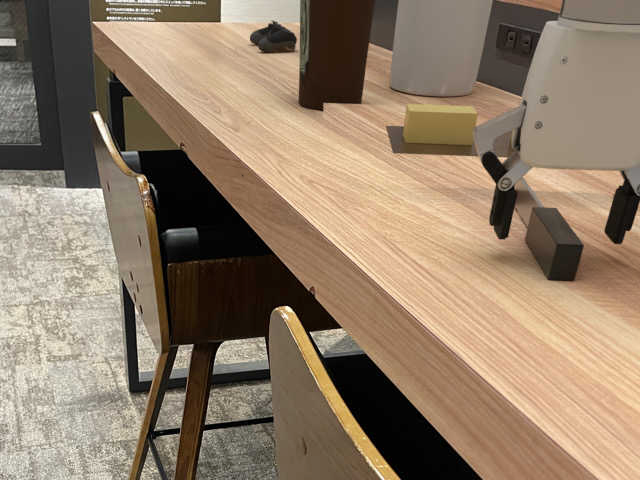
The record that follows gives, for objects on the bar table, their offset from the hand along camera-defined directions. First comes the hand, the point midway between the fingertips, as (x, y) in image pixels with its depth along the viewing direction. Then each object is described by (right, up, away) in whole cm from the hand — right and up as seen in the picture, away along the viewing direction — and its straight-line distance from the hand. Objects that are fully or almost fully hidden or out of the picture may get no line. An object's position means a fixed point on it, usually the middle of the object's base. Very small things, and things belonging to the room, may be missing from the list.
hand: (556, 236), depth 71 cm
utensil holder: (+4, +47, +62) cm, 78 cm away
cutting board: (0, +21, +30) cm, 36 cm away
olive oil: (-14, +38, +52) cm, 66 cm away
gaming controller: (-21, +71, +93) cm, 119 cm away
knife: (0, +2, +6) cm, 6 cm away
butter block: (-3, +22, +29) cm, 37 cm away
